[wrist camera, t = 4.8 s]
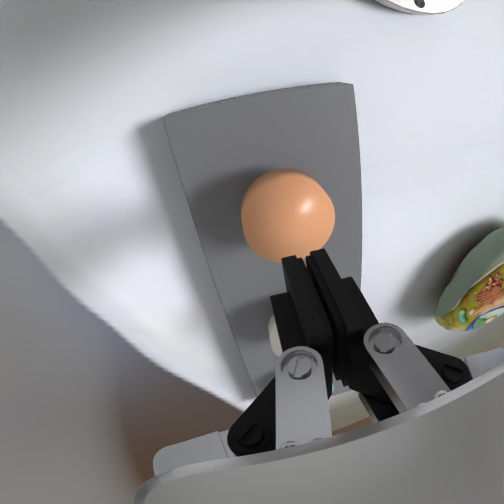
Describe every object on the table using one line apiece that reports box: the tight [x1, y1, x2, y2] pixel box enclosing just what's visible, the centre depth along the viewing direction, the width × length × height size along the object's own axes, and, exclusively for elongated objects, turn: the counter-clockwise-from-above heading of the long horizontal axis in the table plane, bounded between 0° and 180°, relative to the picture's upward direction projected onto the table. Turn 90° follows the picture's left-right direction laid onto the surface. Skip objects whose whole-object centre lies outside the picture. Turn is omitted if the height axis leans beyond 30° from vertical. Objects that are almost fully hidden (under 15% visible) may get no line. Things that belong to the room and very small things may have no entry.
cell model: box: [434, 227, 504, 331], centre depth 23 cm, size 11×8×15 cm
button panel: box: [163, 82, 362, 397], centre depth 23 cm, size 30×10×2 cm, turn 11°
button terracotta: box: [241, 169, 335, 263], centre depth 15 cm, size 5×5×2 cm
